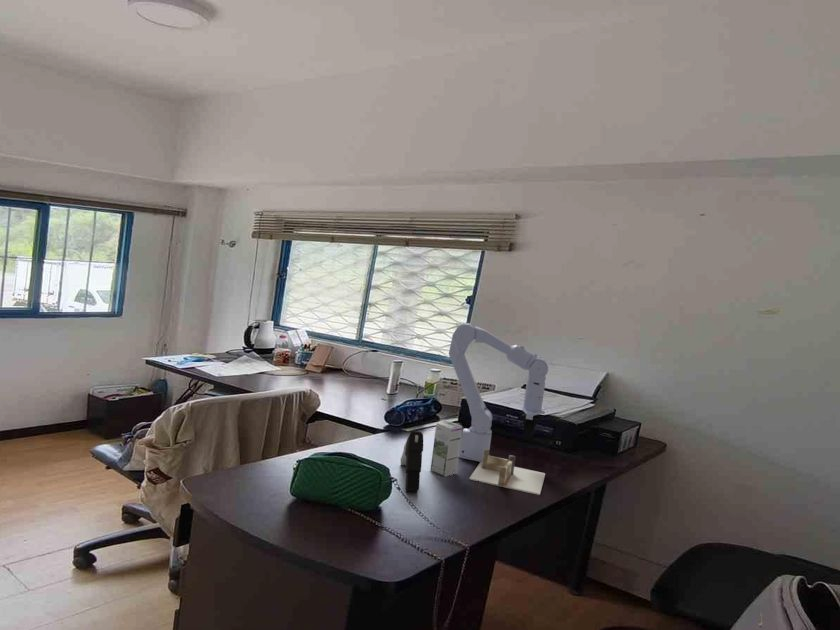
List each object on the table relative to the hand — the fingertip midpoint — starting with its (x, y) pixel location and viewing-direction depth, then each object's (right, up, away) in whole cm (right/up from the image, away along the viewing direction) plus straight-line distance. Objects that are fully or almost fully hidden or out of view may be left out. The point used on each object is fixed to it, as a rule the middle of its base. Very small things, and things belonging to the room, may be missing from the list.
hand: (528, 437), depth 184 cm
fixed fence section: (-11, -8, -9) cm, 16 cm away
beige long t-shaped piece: (-10, -8, -17) cm, 21 cm away
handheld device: (-38, -6, -24) cm, 45 cm away
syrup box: (-28, -7, -16) cm, 33 cm away
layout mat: (-8, -9, -12) cm, 17 cm away
